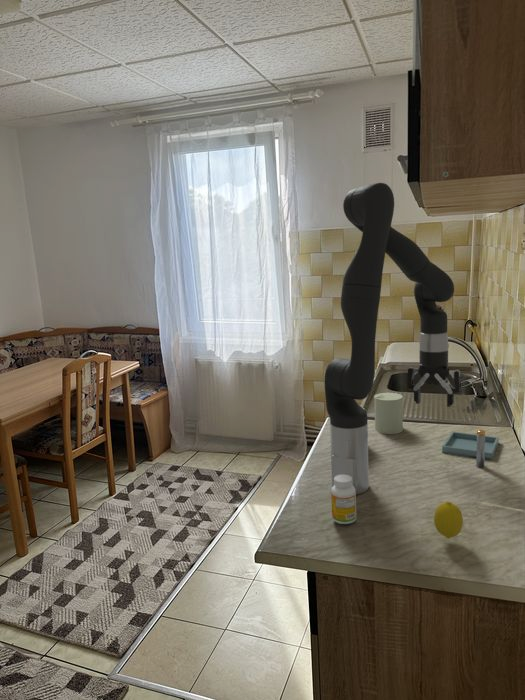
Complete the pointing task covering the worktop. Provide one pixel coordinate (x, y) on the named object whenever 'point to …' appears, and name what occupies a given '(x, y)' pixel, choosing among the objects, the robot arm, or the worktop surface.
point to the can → (388, 413)
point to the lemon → (448, 519)
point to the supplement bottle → (343, 500)
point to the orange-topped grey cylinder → (480, 448)
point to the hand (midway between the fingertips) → (433, 404)
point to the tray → (469, 445)
